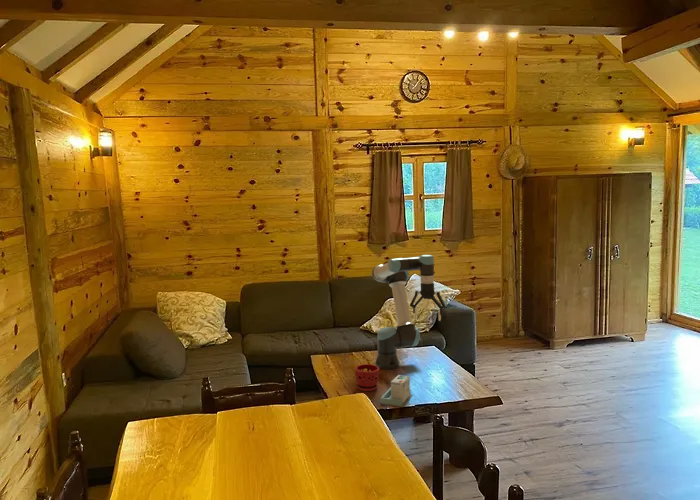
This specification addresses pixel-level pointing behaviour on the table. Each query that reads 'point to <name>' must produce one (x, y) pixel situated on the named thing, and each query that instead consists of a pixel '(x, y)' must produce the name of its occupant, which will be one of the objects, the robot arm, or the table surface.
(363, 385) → the plant pot
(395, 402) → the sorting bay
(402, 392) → the light bulb box
